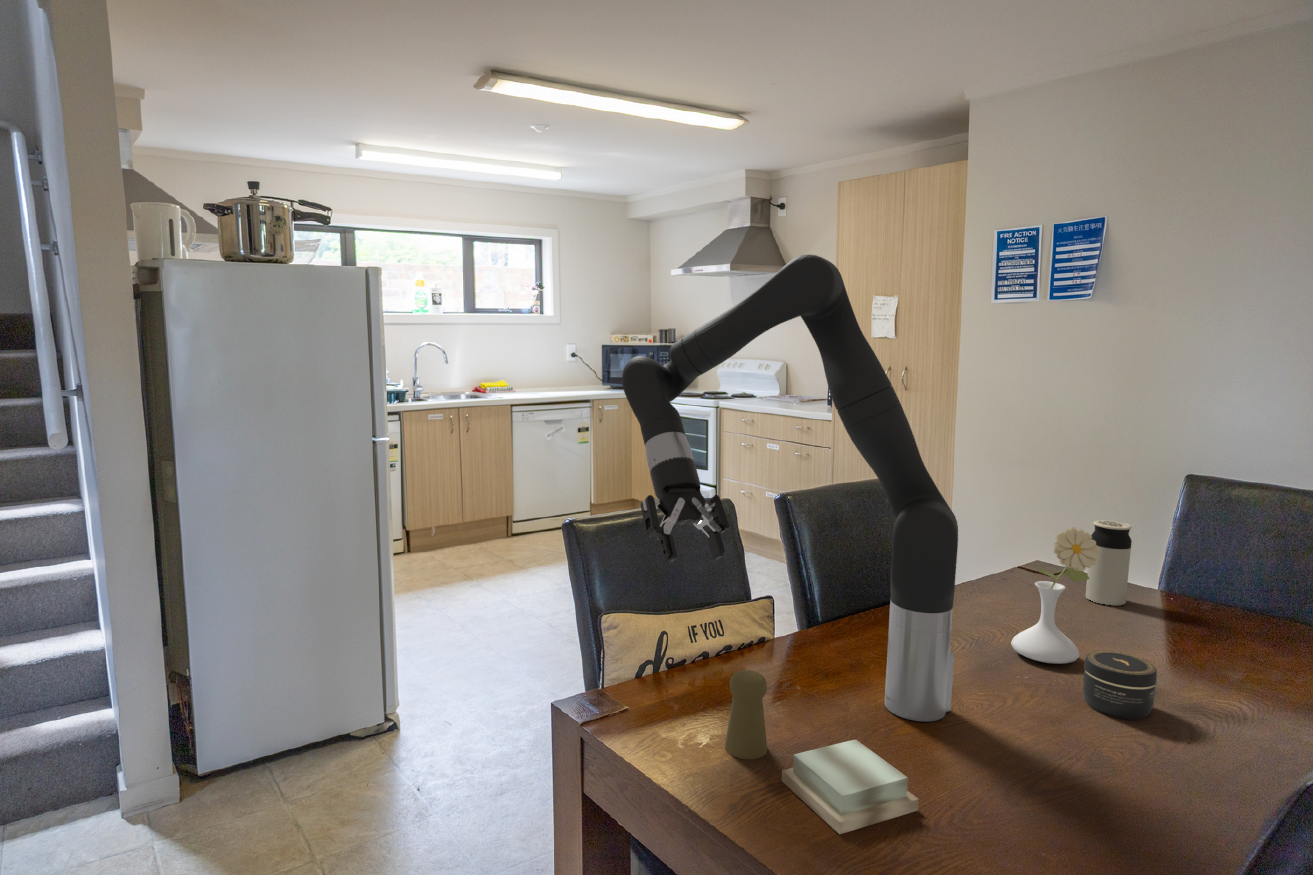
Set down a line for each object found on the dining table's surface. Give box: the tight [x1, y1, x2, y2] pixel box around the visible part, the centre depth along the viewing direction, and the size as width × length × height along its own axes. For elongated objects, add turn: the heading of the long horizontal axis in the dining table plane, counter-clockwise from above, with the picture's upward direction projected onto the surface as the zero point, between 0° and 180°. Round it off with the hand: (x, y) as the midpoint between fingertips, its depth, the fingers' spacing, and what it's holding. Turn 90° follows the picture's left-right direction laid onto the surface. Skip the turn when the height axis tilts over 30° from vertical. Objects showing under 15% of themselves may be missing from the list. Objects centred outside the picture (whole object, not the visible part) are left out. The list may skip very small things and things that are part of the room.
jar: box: [1082, 649, 1158, 721], centre depth 123 cm, size 10×10×8 cm
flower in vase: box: [1010, 527, 1099, 665], centre depth 142 cm, size 13×11×25 cm
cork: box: [724, 669, 768, 760], centre depth 108 cm, size 6×6×11 cm
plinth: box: [781, 738, 920, 835], centre depth 98 cm, size 12×12×4 cm
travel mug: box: [1085, 520, 1133, 607], centre depth 175 cm, size 8×8×18 cm
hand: (696, 559), depth 119 cm, fingers open, 8 cm apart
